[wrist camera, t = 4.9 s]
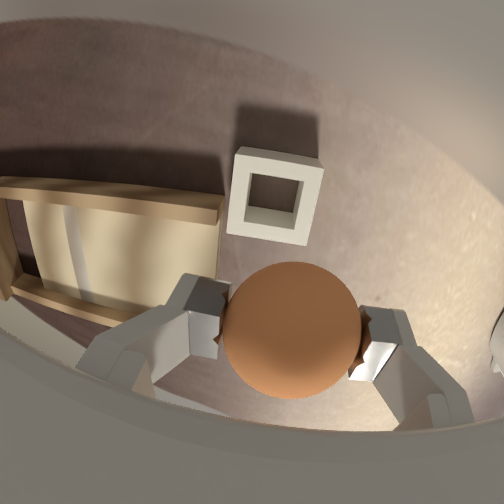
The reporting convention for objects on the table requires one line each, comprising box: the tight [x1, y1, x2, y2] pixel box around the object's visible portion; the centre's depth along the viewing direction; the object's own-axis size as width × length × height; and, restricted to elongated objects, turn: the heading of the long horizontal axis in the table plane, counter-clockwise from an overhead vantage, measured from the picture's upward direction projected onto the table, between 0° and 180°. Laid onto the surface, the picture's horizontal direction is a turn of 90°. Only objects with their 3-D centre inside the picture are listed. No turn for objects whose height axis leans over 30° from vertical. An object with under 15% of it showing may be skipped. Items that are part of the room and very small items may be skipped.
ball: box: [223, 262, 362, 399], centre depth 8 cm, size 4×4×4 cm
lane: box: [0, 176, 225, 327], centre depth 20 cm, size 23×12×4 cm, turn 83°
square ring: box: [227, 146, 324, 246], centre depth 17 cm, size 5×5×2 cm
